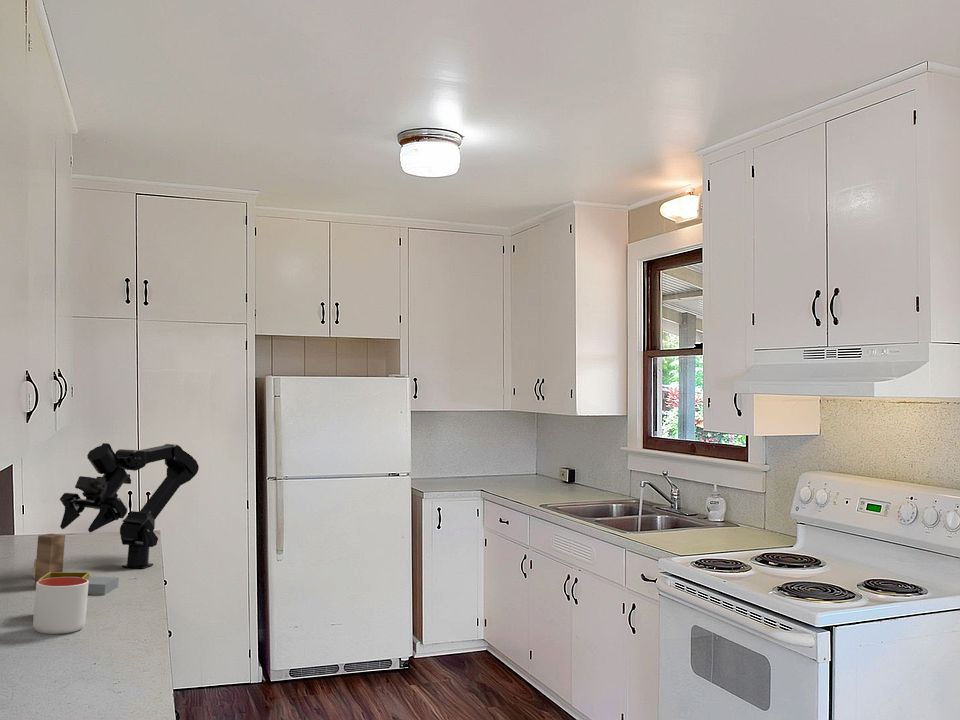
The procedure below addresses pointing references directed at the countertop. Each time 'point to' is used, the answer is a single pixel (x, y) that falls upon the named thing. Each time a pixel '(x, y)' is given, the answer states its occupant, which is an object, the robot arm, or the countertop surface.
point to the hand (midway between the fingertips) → (75, 529)
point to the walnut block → (49, 555)
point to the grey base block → (102, 585)
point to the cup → (60, 605)
